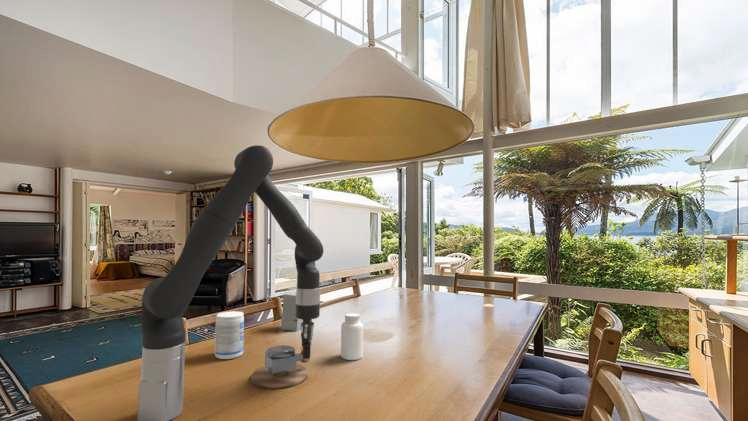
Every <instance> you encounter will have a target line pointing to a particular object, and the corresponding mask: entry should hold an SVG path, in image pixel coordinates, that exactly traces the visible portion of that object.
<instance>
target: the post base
mask: <svg viewBox="0 0 748 421" xmlns="http://www.w3.org/2000/svg"><path fill="white" fill-rule="evenodd" d="M250 376H251V377H250V378H251V379H250V381H251V383H252V385H254V386H256V387H257V388H260V389H266V390H267V389H268V390H281V389H288V388H292V387H296V386H298V385H300V384H302V383H304V382H305V381H306V380H307V379H308V377H309V370H308V368H306V367H305V366H303V365H301V364H297V363H296V369H293V370H288V371H283V372H278V373H273V374H271V372H270V371H269V370H268V369H267V367H266V366H265V365H264V366H261V367H260V368H258V369H257V368H256V369H255V371H253V372H252V374H251V375H250Z"/></svg>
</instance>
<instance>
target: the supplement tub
mask: <svg viewBox="0 0 748 421" xmlns="http://www.w3.org/2000/svg"><path fill="white" fill-rule="evenodd" d="M214 328H215V330H214V331H215V334H214V339H215V340H214V357H215V358H217V359H219V360H231V359H236V358H239V357H241V356H242V355H243V353H244V339H245V338H244V337H245V336H244V334H245V316H244V312H243V311H235V310H233V311H224V312H223V311H222V312H219V313H217V314H216V317H215V327H214Z"/></svg>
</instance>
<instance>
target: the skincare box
mask: <svg viewBox="0 0 748 421" xmlns="http://www.w3.org/2000/svg"><path fill="white" fill-rule="evenodd" d="M282 299H283V300H282V310H281V311H282V312H281V320H280V322H281V323H280V329H281V330H283V331H293V332H298V331H301V330H300V326H301V322H303V320H302V319H298V318H296V316H295V312H296V292H287V293H284V294H283V298H282Z"/></svg>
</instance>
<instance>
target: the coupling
mask: <svg viewBox="0 0 748 421" xmlns="http://www.w3.org/2000/svg"><path fill="white" fill-rule="evenodd" d="M297 362H301V363H304V364H305V363H309V362H310V358H309V359H304V358H303V346H302V345H301V346H300V352H298V353H296V348H295V347H293V346H291V345H275V346H271V347H269V348H267V349H266V351H265V352H264V366H266V367H267V369H268V370H269V371H270V372H271V374H273V373H278V372H283V371H288V370H293V369H296V364H297Z"/></svg>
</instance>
